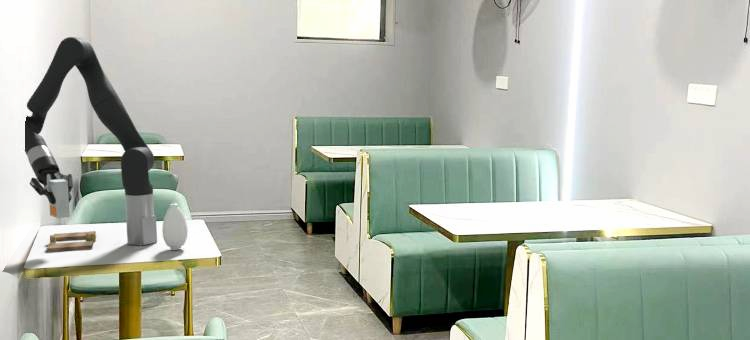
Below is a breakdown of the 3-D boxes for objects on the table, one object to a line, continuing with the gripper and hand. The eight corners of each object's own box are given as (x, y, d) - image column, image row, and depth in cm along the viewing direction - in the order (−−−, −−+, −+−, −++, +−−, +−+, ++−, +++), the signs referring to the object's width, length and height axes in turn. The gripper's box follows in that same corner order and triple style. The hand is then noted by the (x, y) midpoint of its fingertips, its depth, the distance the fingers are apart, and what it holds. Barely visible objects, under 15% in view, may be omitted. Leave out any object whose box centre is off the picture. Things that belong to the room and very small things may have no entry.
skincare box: (49, 216, 243) (47, 180, 241) (62, 214, 246) (60, 178, 244) (57, 218, 239) (55, 182, 237) (70, 216, 242) (68, 180, 240)
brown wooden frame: (97, 234, 271) (96, 225, 270) (93, 248, 248) (93, 239, 248) (54, 237, 266) (53, 228, 266) (46, 252, 244) (46, 242, 243)
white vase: (174, 253, 241) (172, 198, 239) (158, 250, 245) (156, 196, 243) (192, 248, 248) (190, 195, 245) (176, 245, 252) (174, 193, 249)
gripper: (24, 156, 239) (43, 197, 233) (66, 153, 250) (86, 192, 244) (17, 171, 244) (36, 212, 237) (60, 167, 254) (79, 206, 248)
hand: (61, 201), depth 241 cm, fingers closed on skincare box, 4 cm apart
